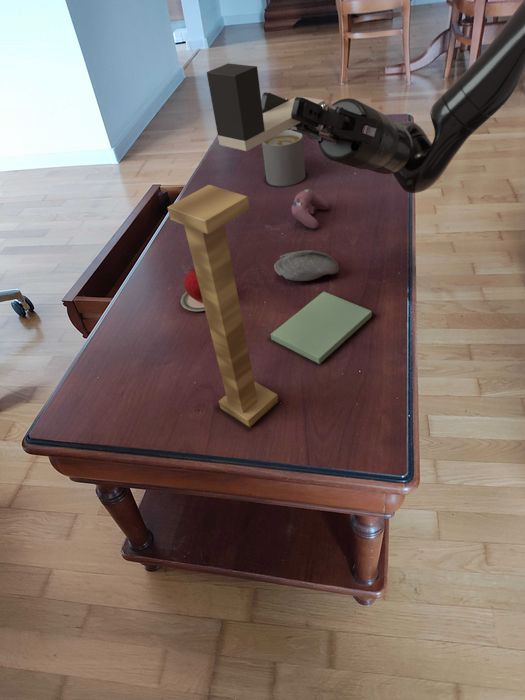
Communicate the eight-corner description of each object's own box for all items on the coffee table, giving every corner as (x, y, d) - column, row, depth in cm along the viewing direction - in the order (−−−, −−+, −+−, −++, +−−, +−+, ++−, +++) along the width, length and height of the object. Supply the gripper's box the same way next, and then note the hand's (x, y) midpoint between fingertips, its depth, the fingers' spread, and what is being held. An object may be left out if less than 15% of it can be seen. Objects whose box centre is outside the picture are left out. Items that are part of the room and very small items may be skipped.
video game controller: (313, 213, 117) (298, 187, 114) (330, 206, 114) (315, 179, 111) (301, 236, 110) (284, 208, 107) (319, 228, 108) (302, 200, 105)
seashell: (340, 261, 99) (339, 238, 95) (338, 286, 93) (337, 263, 89) (279, 262, 101) (276, 239, 98) (273, 286, 95) (270, 264, 92)
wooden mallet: (325, 109, 58) (322, 38, 53) (246, 151, 52) (235, 75, 47) (298, 105, 60) (293, 37, 56) (219, 145, 54) (206, 71, 49)
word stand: (278, 401, 74) (247, 196, 53) (249, 427, 71) (205, 221, 50) (248, 383, 77) (208, 184, 56) (220, 408, 74) (166, 206, 53)
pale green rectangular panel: (371, 316, 85) (371, 310, 84) (319, 364, 78) (319, 358, 78) (323, 296, 91) (323, 291, 90) (271, 339, 84) (270, 334, 83)
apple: (176, 296, 97) (167, 266, 92) (215, 282, 98) (209, 253, 94) (189, 318, 91) (180, 288, 87) (230, 303, 93) (224, 273, 88)
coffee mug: (304, 184, 125) (301, 143, 119) (264, 187, 127) (259, 147, 120) (306, 162, 135) (304, 123, 129) (269, 165, 137) (264, 126, 130)
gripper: (323, 100, 71) (239, 61, 58) (416, 113, 63) (342, 71, 50) (309, 157, 73) (226, 131, 60) (397, 176, 65) (322, 152, 52)
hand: (279, 105), depth 55 cm, fingers closed on wooden mallet, 4 cm apart
